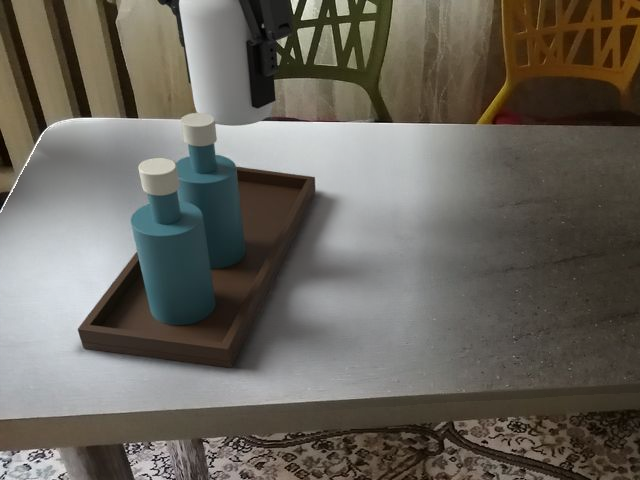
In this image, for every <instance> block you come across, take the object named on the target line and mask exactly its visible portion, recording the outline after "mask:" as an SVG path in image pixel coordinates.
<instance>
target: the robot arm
mask: <svg viewBox="0 0 640 480" xmlns="http://www.w3.org/2000/svg"><path fill="white" fill-rule="evenodd" d="M157 2H158V3H159V4H160V5H161V6H165V5H166V6H167V7H168V8H169V9H170V10H171V13H172V14H173V15H174V16H175V19H176V25H177V32H178V41H179V43H180V46H181V47H182V48H183V53H184V59H185V67H186V74H187V79H188V80H187V81H188V84H190V85H191V79H190V73H189V66H188V60H187V54H186V47H185V41H184V34H183V28H182V21H181V15H180V8H179V0H157ZM239 2H240V5H241V8H242V10H243V13H244V16H245V18H246V21H247V24H248V26H249V29H250V32H251V35H252V37H253V38H252V39H249V40H248V41H246V46H247V57H248V68H249V79H250V90H251V101H252V107H254V108H257V109H258V108H261V107H263V106H265V105H267V104H269V103H272V104H273V103H274V102H276V101H277V100H276V86H275V74H276V73H278V69H279V63H278V49H277V42H278V41H279V40H282V39H285V38H288V37H291V36H292V35H293V34H294V26H293V20H292V14H291V10H290V4H289V0H239ZM262 24H264V28H262Z"/></svg>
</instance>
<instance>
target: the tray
mask: <svg viewBox="0 0 640 480" xmlns="http://www.w3.org/2000/svg"><path fill="white" fill-rule="evenodd" d="M236 169H237V178H238V187H239V196H240V206H241V215H242V224H243V233H244V242H245V255H244V257H243V258H242V259H241V260H240V261H239V262H238V263H236V264H234V265H232V266H229V267H225V268H218V269H211V275H212V282H213V288H214V295H215V302H216V305H215V308H214V310H213V312H212V313H211V314H210V315H209V316H208V317H207V318H205V319H203V320H201V321H199V322H197V323H193V324H189V325H168V324H165V323H162V322H160V321H158V320H157V319H155V318H154V317H153V315H152V314H151V311H150V306H149V302H148V297H147V293H146V288H145V284H144V280H143V275H142V271H141V266H140V262H139V257H138V253H137V251H136V252H135V253H134V254H133V256H132V257H131V258H130V260H129V261H128V262H127V264H126V265H124V267H123V269H122V270H121V271H120V272H119V274H118V275H117V277H115V279H114V280H113V282H112V284H110V286H109V287H108V288H107V290H106V291H105V292H104V294H103V295H102V296H101V298H100V299H99V300H98V301H97V303H96V304H95V305H94V306H93V308H92V310H91V311H90V312H89V313H88V314H87V316H86V317H85V319H84V320H83V321H82V322H81V324H80V325H79V327H78V328H77V332H78V335H79V338H80V341H81V346H82V348H83V349H86V350H92V351H93V350H95V351H102V352H110V353H116V354H124V355H125V354H126V355H131V356H132V355H133V356H140V357H146V358H154V359H162V360H170V361H177V362H178V361H179V362H183V363H184V362H185V363H193V364H200V365H206V366H207V365H208V366H215V367H223V368H230V369H231V368H232V366H233V365H234V363H235V360H236V359H237V356H238V354H239V352H240V350H241V348H242V346H243V344H244V342H245V339H246V338H247V335H248V333H249V332H250V329H251V327H252V325H253V323H254V321H255V320H256V317H257V315H258V313H259V311H260V309H261V307H262V304H263V303H264V300H265V299H266V296H267V294H268V293H269V290H270V289H271V286H272V285H273V282H274V281H275V278H276V276H277V274H278V272H279V269H280V268H281V266H282V263H283V262H284V259H285V257H286V255H287V254H288V252H289V249H290V247H291V244H292V243H293V241H294V239H295V237H296V235H297V233H298V231H299V228H300V226H301V224H302V222H303V220H304V218H305V216H306V214H307V212H308V210H309V208H310V206H311V204H312V202H313V199H314V197H315V196H316V177H315V176H310V175H304V174H303V175H302V174H295V173H287V172H280V171H272V170H266V169H258V168H251V167H244V166H243V167H242V166H236Z"/></svg>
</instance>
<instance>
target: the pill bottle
mask: <svg viewBox="0 0 640 480" xmlns="http://www.w3.org/2000/svg"><path fill="white" fill-rule="evenodd" d="M179 8H180V15H181V21H182V28H183V34H184V41H185V47H186V54H187V60H188V66H189V73H190V79H191V84H190V86H191V92H192V98H193V104H194V107H195V108H194V109H195V112H196V113H205V114H209V115H211V116H213V118H214V120H215V125H219V126H230V127H236V126H246V125H247V126H248V125H252V124H256V123H259V122H262V121H264V120H265V119H267V118H268V117H269V116H270V115H271V113H272V111H273V102H272V103H269V104H267V105H265V106H263V107H261V108H258V109H257V108H254V107H252V101H251V90H250V79H249V68H248V57H247V46H246V41H248V40H249V39H252V38H253V37H252V35H251V32H250V29H249V26H248V24H247V21H246V18H245V16H244V13H243V10H242V8H241V5H240V2H239V0H179ZM262 28H264V24H262Z"/></svg>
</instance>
